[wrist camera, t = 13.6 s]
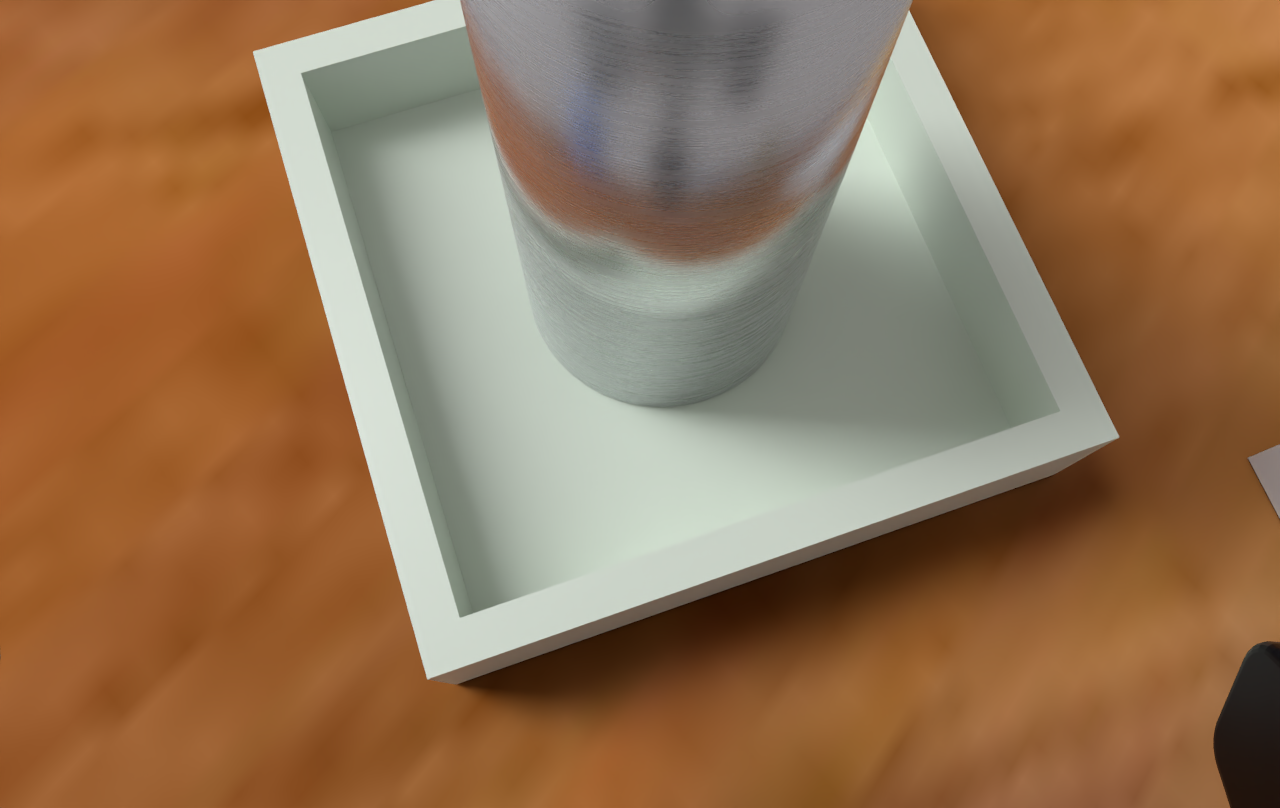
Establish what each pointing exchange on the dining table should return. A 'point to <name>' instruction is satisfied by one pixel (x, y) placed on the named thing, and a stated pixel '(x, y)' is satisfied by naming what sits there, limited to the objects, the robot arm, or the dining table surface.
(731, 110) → the brushed metal cylinder
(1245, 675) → the robot arm
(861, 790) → the dining table surface
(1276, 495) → the grey bin
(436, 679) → the sage bin
